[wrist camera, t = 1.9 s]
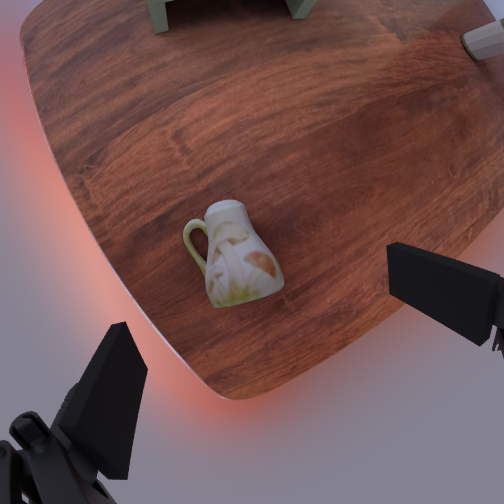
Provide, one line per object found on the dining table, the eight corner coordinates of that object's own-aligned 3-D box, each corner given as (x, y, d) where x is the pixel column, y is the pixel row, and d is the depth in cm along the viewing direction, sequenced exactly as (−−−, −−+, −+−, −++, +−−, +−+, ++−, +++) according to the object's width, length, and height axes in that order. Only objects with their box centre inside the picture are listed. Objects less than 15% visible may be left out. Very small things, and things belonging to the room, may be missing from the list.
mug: (249, 183, 27) (308, 234, 20) (246, 258, 33) (291, 317, 26) (176, 197, 25) (213, 261, 18) (187, 275, 31) (220, 344, 24)
